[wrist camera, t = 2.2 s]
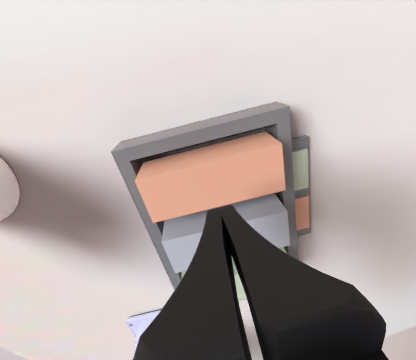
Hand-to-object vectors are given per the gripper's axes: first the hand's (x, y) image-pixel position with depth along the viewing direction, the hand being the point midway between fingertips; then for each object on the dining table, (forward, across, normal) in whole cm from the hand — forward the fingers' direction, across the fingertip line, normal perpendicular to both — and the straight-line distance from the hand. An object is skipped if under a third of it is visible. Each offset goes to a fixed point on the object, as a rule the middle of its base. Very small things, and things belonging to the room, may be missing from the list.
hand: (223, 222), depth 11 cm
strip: (+9, -8, +6) cm, 13 cm away
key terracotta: (+8, 0, 0) cm, 8 cm away
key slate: (+8, 0, +5) cm, 9 cm away
